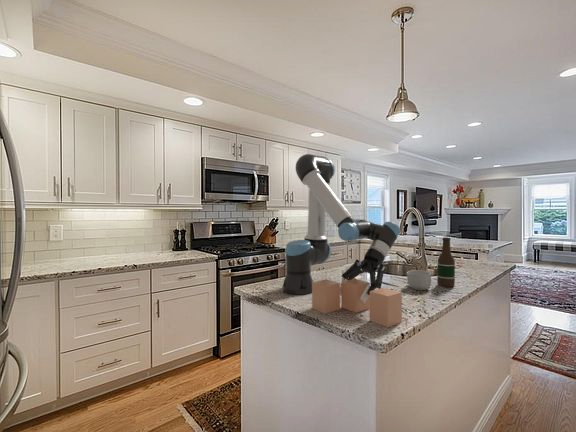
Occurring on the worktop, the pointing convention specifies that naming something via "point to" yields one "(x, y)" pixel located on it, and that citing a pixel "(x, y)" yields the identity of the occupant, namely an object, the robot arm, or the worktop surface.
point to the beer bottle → (446, 266)
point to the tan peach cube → (385, 307)
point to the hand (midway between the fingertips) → (350, 297)
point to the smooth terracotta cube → (354, 295)
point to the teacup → (419, 279)
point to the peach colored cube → (326, 296)
